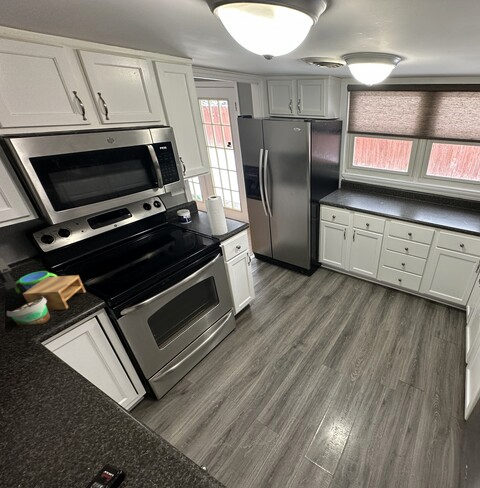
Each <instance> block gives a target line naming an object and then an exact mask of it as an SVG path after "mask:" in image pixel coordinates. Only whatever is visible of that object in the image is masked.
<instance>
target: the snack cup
mask: <svg viewBox="0 0 480 488" xmlns="http://www.w3.org/2000/svg"><path fill="white" fill-rule="evenodd" d="M46 277H58V275H57V274H55V273H52V272H49V271H47V270H40V271H35V272H31V273H28V274H26V275H24V276H21V277H20V278H19V279H18V280H17V281H16V282H15V284H16V287H14V290H15V292H16V293H17V294H20V293H21V289H20V288H18V286H17V285H18V284H20V285H21V286H23V287H24V289H25V290H26V291H27V290H29V289H30V288H32V287H33V286H35V285H36V284H38V283H39V282H40V281H42V280H43V279H45V278H46Z"/></svg>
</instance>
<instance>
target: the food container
mask: <svg viewBox="0 0 480 488" xmlns="http://www.w3.org/2000/svg"><path fill="white" fill-rule="evenodd" d="M41 297H42V296H41ZM46 302H47V300H46V299H45V298H44V297H42V298H40V299H38V300H36V301H33V302H30V303H27V302H26V303H25V304H23V305H22V306H20V307H18V308H15V309H13V310H11V311H9V310H6V316H7V317H9V318H12V320H13V321H14V322H15V323H16V324H17V326H28V325H29V326H30V325H38V324H45V323H46V322H48V321H49V320H50V318H51V315H50V312H49V310H47V307H46Z"/></svg>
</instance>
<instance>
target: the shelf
mask: <svg viewBox="0 0 480 488" xmlns="http://www.w3.org/2000/svg"><path fill="white" fill-rule="evenodd" d="M57 276H58V275H57ZM86 292H87V291H86V289H85V286H84V284H83V282H82V280H81V278H80V275H79V274H76V275H60V276H58V277H54V276H49V277H46V278H45V279H43V280H42V281H40V282H39V283H38V284H36V285H35V286H33V287H32V288H30V289H29V290H27V289H26V291H25V292H23V293H22V295H23V297H24V299H25V301H26V304H27V303H30V302H33V301H36V300H38V299H40V298H42V297H44V298H45V299H46V300H47V302H46V307H47V310H48V311H57V310H58V311H59V310H68V308H69V305H68V303H67V301H68V300H69V299H71V298H72V297H73V296H74V295H75V294H85V293H86ZM41 296H42V297H41Z"/></svg>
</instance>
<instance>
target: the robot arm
mask: <svg viewBox="0 0 480 488" xmlns="http://www.w3.org/2000/svg"><path fill="white" fill-rule="evenodd" d="M11 272H12V269H11V268H10V266H9V265H8V264H7V263H6V262H5V261H4V260H3V258H2V257H1V256H0V282H1V284H2V286H3V288H4V289H5V291H6V290H7V291H8V290H11V289H13V288H15V287H16V282H15V281H14V278H13V277H12V275H11V274H10V273H11Z"/></svg>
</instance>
